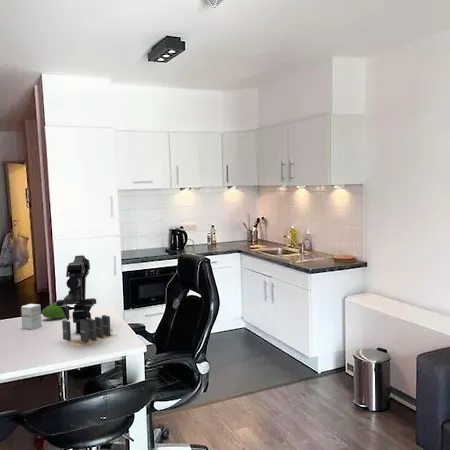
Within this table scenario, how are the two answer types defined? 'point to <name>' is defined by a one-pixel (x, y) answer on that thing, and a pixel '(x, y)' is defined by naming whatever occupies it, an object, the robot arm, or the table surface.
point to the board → (80, 343)
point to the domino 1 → (66, 330)
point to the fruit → (53, 311)
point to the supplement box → (31, 316)
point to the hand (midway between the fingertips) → (76, 319)
